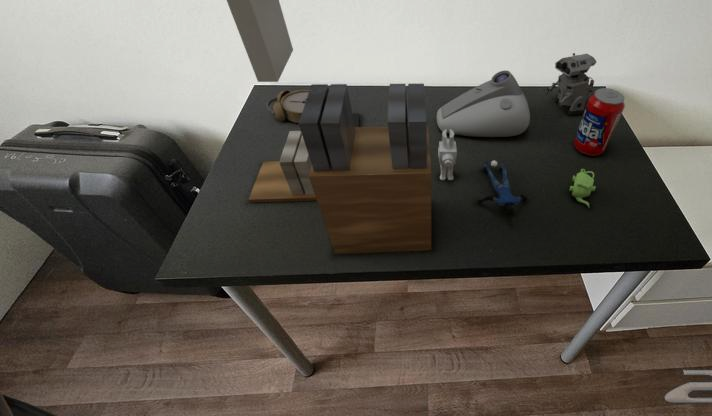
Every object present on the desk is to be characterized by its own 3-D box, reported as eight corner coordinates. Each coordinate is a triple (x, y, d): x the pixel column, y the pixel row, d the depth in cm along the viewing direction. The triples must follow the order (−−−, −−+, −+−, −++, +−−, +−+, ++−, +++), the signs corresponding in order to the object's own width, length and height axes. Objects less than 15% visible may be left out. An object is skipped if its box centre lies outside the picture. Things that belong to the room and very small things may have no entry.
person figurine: (469, 176, 87) (483, 227, 73) (470, 159, 84) (485, 210, 70) (514, 173, 88) (536, 224, 74) (517, 157, 85) (540, 206, 71)
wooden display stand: (318, 200, 77) (306, 164, 70) (249, 202, 76) (230, 166, 69) (326, 163, 85) (316, 127, 78) (264, 164, 84) (248, 128, 77)
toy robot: (453, 164, 87) (456, 121, 78) (455, 186, 82) (458, 144, 73) (437, 164, 87) (438, 121, 78) (438, 187, 81) (439, 144, 73)
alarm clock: (323, 114, 93) (260, 106, 90) (324, 130, 97) (263, 123, 94) (329, 91, 101) (270, 83, 98) (329, 106, 104) (272, 99, 101)
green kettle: (588, 208, 79) (597, 189, 74) (564, 200, 80) (571, 181, 76) (593, 190, 83) (601, 171, 78) (569, 183, 84) (576, 164, 80)
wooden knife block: (431, 250, 70) (431, 125, 49) (335, 254, 68) (291, 128, 47) (428, 204, 78) (427, 79, 57) (342, 207, 76) (308, 80, 55)
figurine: (537, 101, 107) (549, 50, 96) (573, 97, 109) (589, 47, 98) (550, 119, 101) (565, 67, 90) (588, 114, 103) (606, 63, 92)
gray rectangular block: (278, 82, 52) (239, -31, 42) (257, 82, 52) (214, -31, 42) (293, 50, 59) (263, -54, 49) (275, 49, 59) (241, -55, 48)
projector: (472, 92, 109) (477, 43, 98) (542, 120, 100) (555, 70, 89) (426, 127, 96) (425, 75, 85) (501, 162, 88) (511, 109, 77)
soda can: (610, 154, 91) (635, 101, 80) (585, 161, 89) (606, 107, 78) (591, 136, 96) (612, 83, 85) (566, 142, 94) (584, 89, 83)
